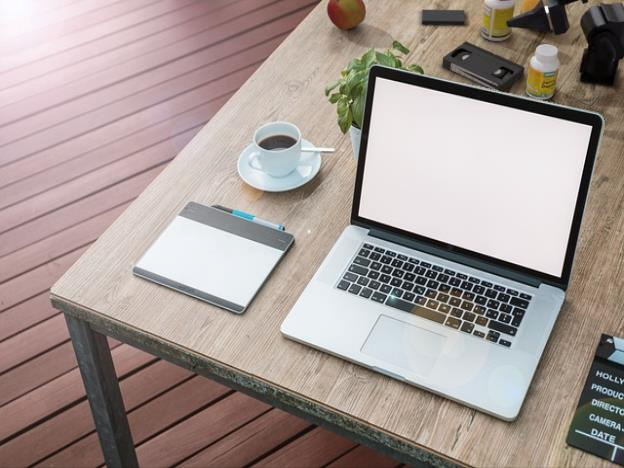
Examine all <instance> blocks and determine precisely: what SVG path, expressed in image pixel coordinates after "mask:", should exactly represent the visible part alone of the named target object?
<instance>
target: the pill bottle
mask: <svg viewBox="0 0 624 468" xmlns="http://www.w3.org/2000/svg"><path fill="white" fill-rule="evenodd" d="M515 7H516V0H508V1H500V0H484V2H483V10H482V11H483V12H482V21H481V27H480V28H481V29H480V30H481V31H480V32H481V33H480V34H481V36H482V37H483V38H485V39H486V40H488V41H491V42H502V41H505V40H507V39H509V38H510V36H511V34H512V27H507V24H506V21H508V20H510V19H512V18H514V13H515Z"/></svg>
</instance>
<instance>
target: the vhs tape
mask: <svg viewBox="0 0 624 468" xmlns="http://www.w3.org/2000/svg"><path fill="white" fill-rule="evenodd" d="M441 67H443V68H445V69H446V70H449V71H451V72H453V73H455V74H458V75H460V76H462V77H463V78H466V79H469V80H470V81H472V82H475V83H477V84H479V85H480V86H483V87H485V88H487V89H489V88H490V90H491V89H495V90H499V91H503V92H504V91H505V90H507V89H508V88H509V87H511V86H512V85H513V84H515V83H516V82H518V80H520V79H521V78H522V77H523V76H524V75H525V69H526V67H525V66H524V65H521V64H519V63H516V62H514V61H513V60H509V59H507V58H505V57H502V56H500V55H498V54H495V53H494V52H491V51H489V50H487V49H484V48H482V47H480V46H478V45H475V44H474V43H471V42H469V41H466V40H465V41H464V42H463V43H461V44H460V45H458V46H457V47H456V48H454V49H453V50H451V51H449V52H448V53H447V54H446V55H444V56H443V57H442V64H441Z"/></svg>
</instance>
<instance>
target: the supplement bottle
mask: <svg viewBox="0 0 624 468" xmlns="http://www.w3.org/2000/svg"><path fill="white" fill-rule="evenodd" d="M558 54H559V48H558V47H556V46H555V45H553V44H548V43H543V44H540V45H538V46H536V49H535V53H534V56H532V58H531V59H530V62H529V66H528V67H529V68H528V74H527V81H526V88H525V91H526V95H528V96H529V98H532V99H534V98H536V99H535V100H538V99H540V100H539V101H542V100H549V99H550V98H552V97H553V96H554V93H555V90H556V85H557V80H558V76H559V70H560V64H561V63H560V60H559V58H558V56H559V55H558Z"/></svg>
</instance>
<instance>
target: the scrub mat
mask: <svg viewBox="0 0 624 468" xmlns="http://www.w3.org/2000/svg"><path fill="white" fill-rule="evenodd" d="M465 23H466V22H465V10H464V9H422V10H421V24H422V25H462V26H463V25H465Z"/></svg>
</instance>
